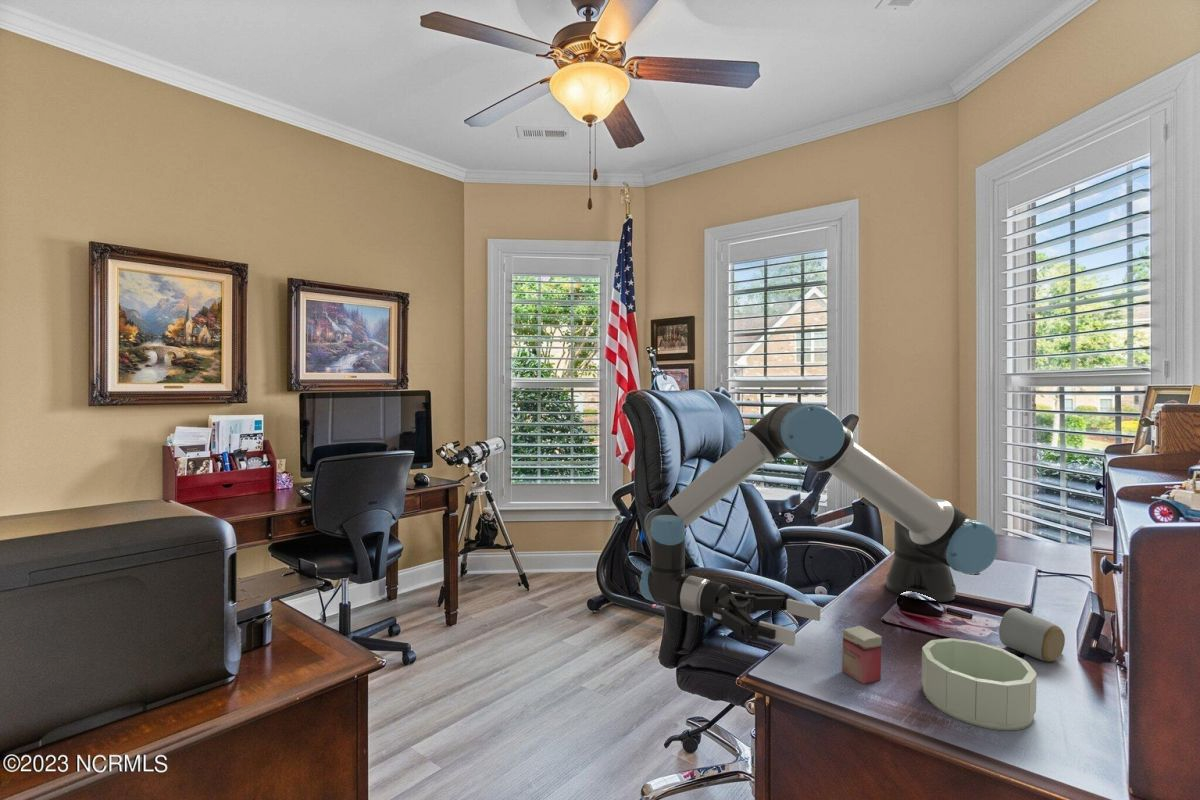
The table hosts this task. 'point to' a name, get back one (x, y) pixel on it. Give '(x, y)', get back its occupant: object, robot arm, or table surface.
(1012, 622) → the ceramic mug
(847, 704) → the table surface
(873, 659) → the small box
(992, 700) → the sage bowl
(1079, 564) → the table surface
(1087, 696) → the table surface
